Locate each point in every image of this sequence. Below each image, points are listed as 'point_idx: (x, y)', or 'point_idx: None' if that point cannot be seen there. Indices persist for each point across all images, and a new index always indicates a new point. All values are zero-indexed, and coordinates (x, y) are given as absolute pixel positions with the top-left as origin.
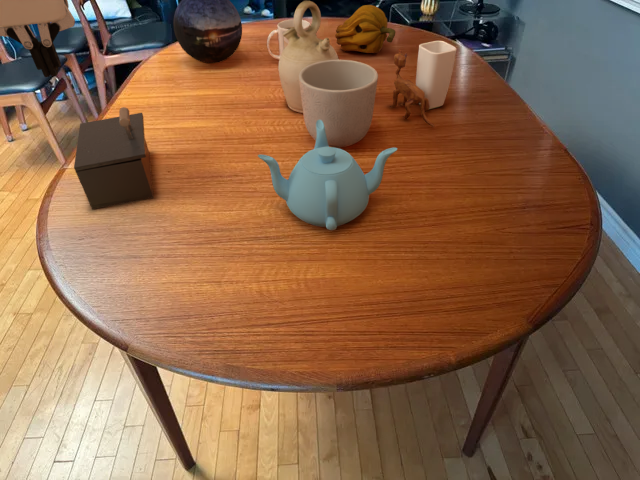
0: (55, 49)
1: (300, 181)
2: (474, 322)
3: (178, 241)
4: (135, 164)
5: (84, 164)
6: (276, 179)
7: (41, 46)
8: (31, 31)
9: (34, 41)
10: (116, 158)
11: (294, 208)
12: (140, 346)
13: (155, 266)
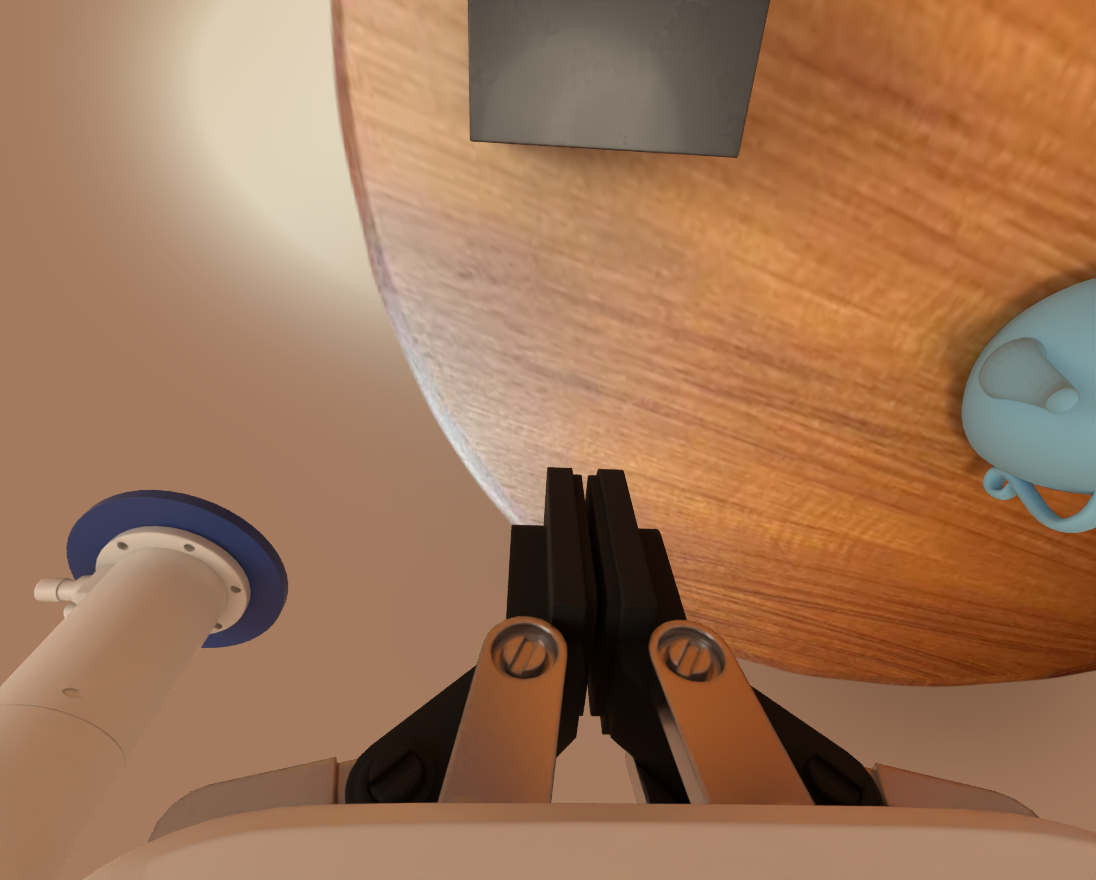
0: (677, 597)
1: (1056, 444)
2: (996, 660)
3: (686, 369)
4: None
5: (509, 134)
6: (1016, 400)
7: (599, 684)
8: (559, 714)
9: (568, 738)
10: (630, 144)
11: (975, 422)
12: None
13: (623, 427)
